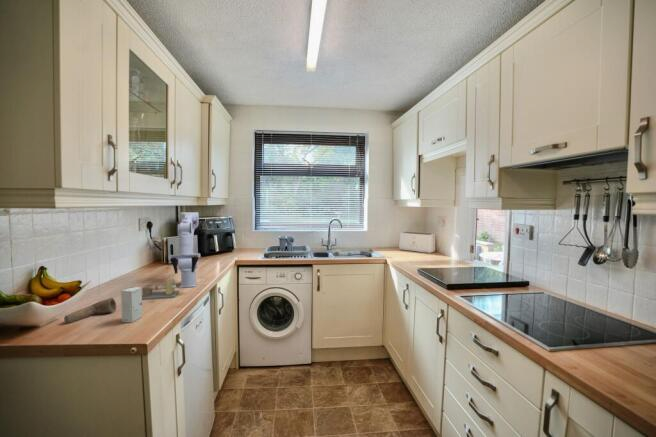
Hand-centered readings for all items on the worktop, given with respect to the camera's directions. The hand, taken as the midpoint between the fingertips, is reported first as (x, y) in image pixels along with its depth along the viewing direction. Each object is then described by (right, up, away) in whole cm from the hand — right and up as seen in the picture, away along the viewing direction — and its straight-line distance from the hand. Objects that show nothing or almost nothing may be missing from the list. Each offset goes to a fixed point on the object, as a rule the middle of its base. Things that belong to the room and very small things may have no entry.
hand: (184, 272), depth 145 cm
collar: (-7, -10, 0) cm, 12 cm away
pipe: (-23, -13, -29) cm, 39 cm away
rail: (-11, -11, -1) cm, 16 cm away
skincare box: (-5, -13, -32) cm, 34 cm away
